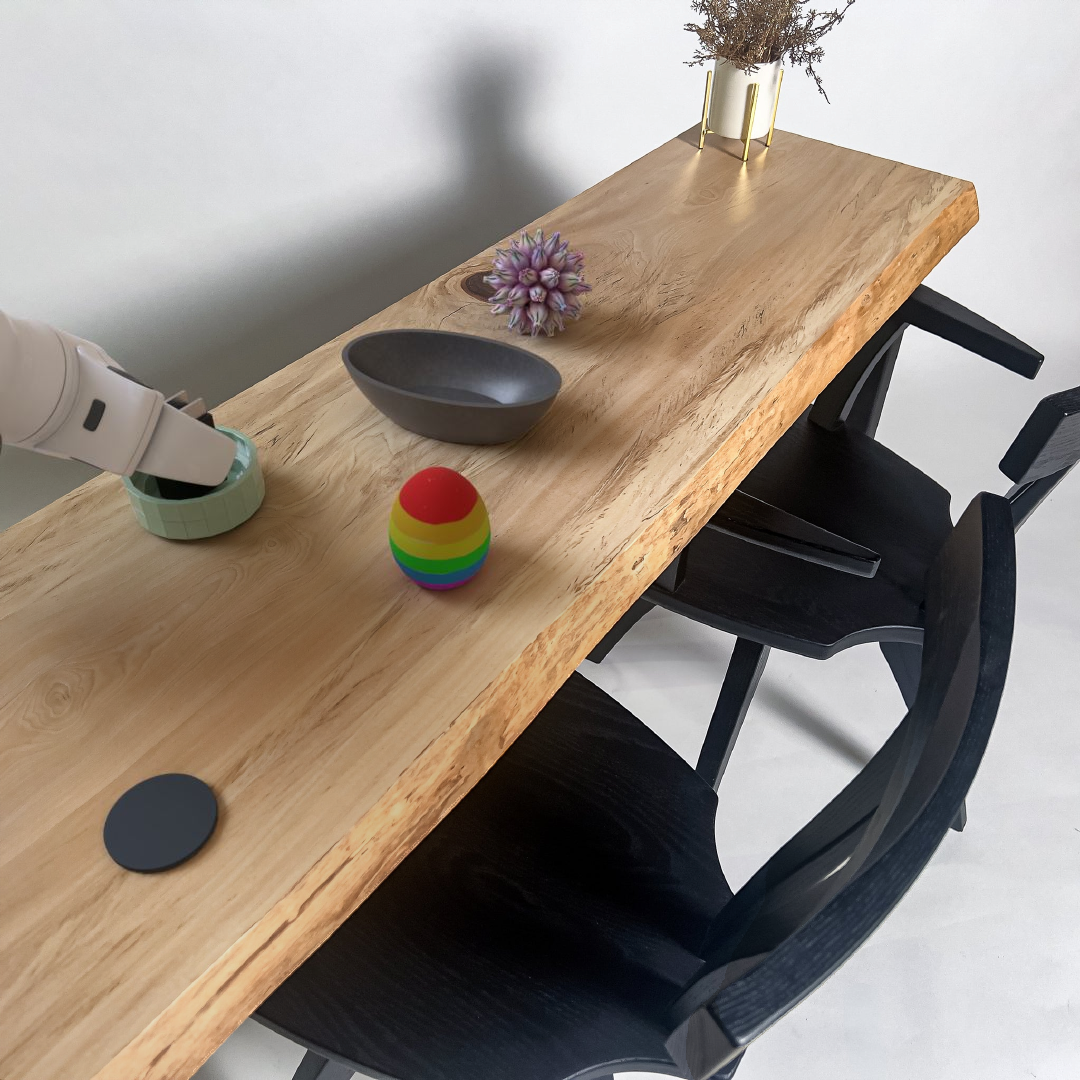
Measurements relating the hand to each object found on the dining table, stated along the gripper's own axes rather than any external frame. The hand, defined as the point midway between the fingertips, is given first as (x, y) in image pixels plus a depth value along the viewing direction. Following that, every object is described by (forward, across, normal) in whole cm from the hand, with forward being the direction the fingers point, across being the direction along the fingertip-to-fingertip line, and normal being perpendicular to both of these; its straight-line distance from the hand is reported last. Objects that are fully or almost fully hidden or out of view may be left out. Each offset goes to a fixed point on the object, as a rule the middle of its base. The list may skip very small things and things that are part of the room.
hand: (188, 438), depth 82 cm
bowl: (+21, +11, +11) cm, 26 cm away
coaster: (-12, +22, -22) cm, 34 cm away
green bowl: (+4, 0, -5) cm, 7 cm away
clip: (+3, 0, -4) cm, 5 cm away
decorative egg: (+8, +23, -1) cm, 24 cm away
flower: (+34, +8, +25) cm, 43 cm away
